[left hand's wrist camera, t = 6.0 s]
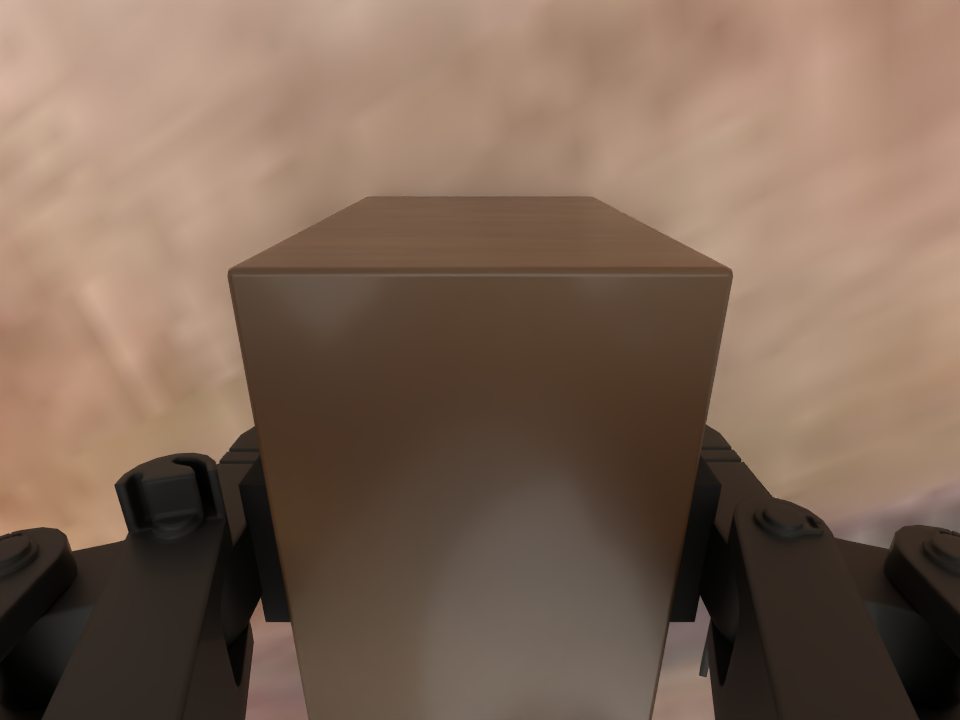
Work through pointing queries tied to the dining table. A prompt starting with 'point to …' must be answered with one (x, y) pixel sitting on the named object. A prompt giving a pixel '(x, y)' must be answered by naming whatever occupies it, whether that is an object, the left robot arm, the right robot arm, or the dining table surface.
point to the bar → (480, 450)
